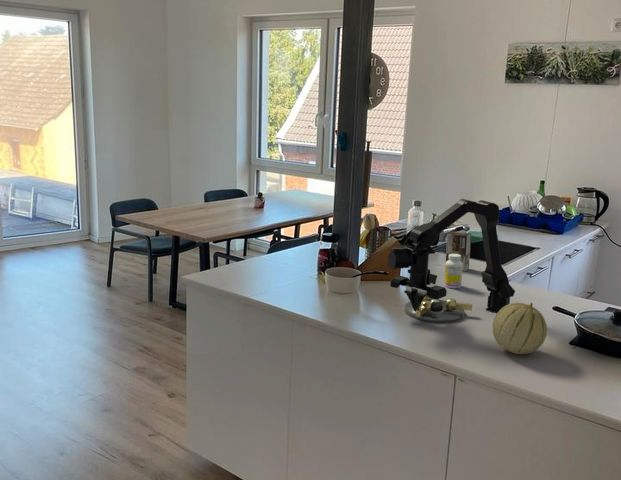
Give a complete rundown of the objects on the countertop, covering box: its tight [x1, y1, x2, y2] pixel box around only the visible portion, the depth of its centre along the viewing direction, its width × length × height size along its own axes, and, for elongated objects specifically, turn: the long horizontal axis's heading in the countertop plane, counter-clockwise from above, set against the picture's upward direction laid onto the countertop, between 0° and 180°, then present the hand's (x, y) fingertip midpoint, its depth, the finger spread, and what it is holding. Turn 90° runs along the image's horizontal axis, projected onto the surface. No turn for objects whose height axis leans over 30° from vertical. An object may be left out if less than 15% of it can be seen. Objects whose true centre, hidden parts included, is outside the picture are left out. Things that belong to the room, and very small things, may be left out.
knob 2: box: [445, 298, 473, 311], centre depth 197 cm, size 9×3×3 cm, turn 77°
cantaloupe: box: [492, 302, 548, 355], centre depth 166 cm, size 15×15×15 cm
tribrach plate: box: [404, 299, 465, 324], centre depth 199 cm, size 20×20×4 cm
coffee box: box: [445, 230, 472, 272], centre depth 254 cm, size 9×6×16 cm
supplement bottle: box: [443, 254, 463, 289], centre depth 229 cm, size 7×7×13 cm
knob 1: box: [416, 301, 431, 317], centre depth 193 cm, size 9×3×3 cm, turn 148°
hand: (416, 311), depth 193 cm, fingers closed
